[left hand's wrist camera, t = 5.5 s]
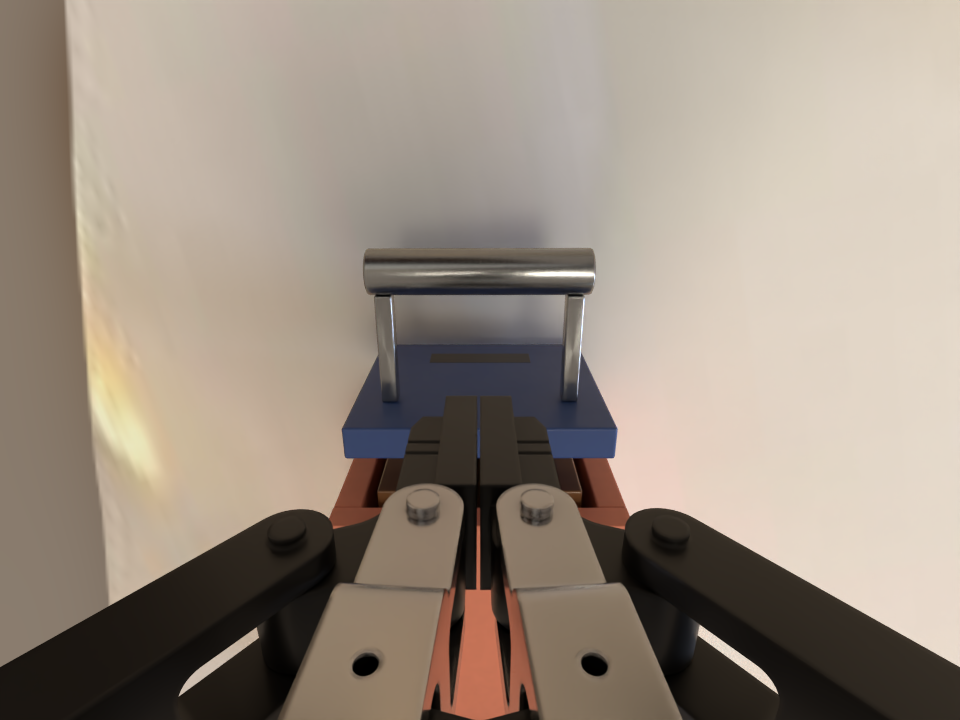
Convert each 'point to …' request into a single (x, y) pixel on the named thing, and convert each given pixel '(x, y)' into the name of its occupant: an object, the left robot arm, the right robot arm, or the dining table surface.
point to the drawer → (480, 357)
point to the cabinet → (479, 648)
